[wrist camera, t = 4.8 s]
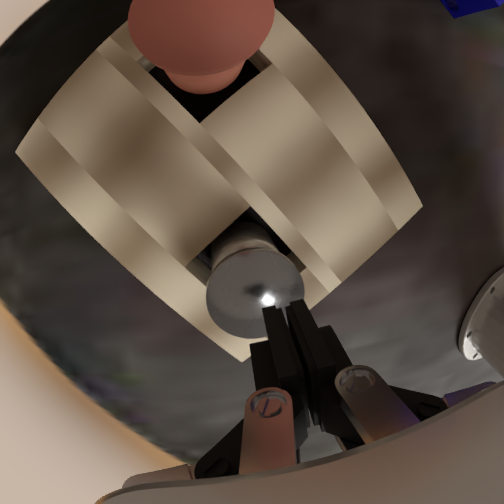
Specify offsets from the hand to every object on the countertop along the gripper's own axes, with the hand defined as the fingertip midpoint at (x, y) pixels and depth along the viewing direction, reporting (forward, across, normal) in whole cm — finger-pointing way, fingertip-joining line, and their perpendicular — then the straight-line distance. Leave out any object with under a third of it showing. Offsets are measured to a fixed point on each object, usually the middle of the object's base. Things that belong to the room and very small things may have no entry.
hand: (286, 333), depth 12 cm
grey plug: (+9, +1, -1) cm, 9 cm away
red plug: (+6, +1, -12) cm, 13 cm away
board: (+9, +1, -6) cm, 11 cm away
